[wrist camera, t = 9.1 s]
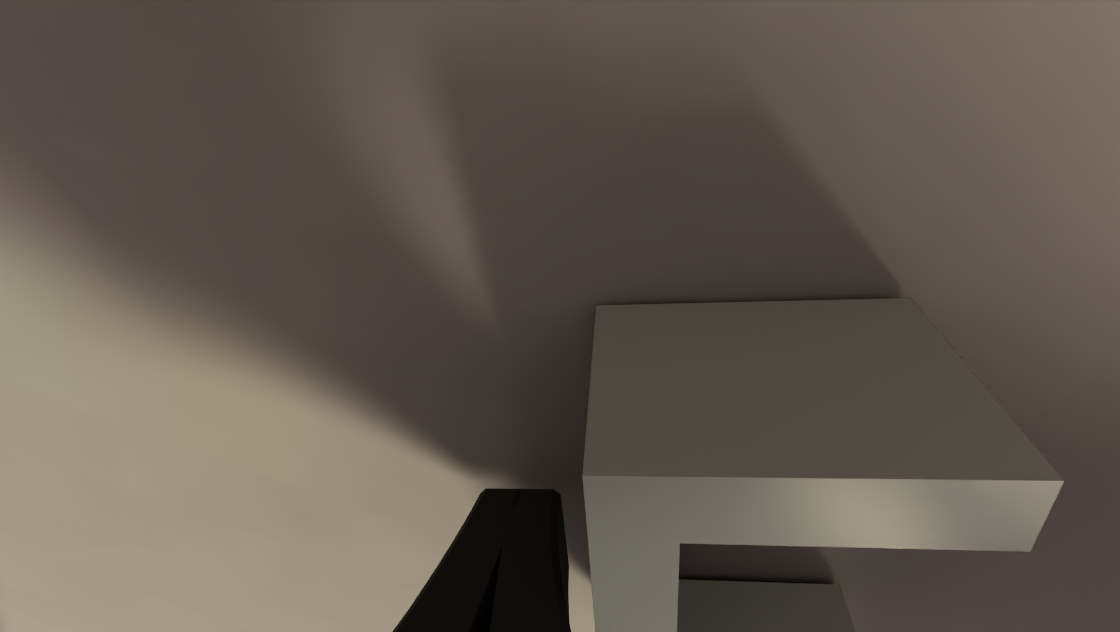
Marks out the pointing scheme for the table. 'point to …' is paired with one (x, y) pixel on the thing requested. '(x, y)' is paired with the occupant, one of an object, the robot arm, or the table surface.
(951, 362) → the cap
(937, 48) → the table surface
